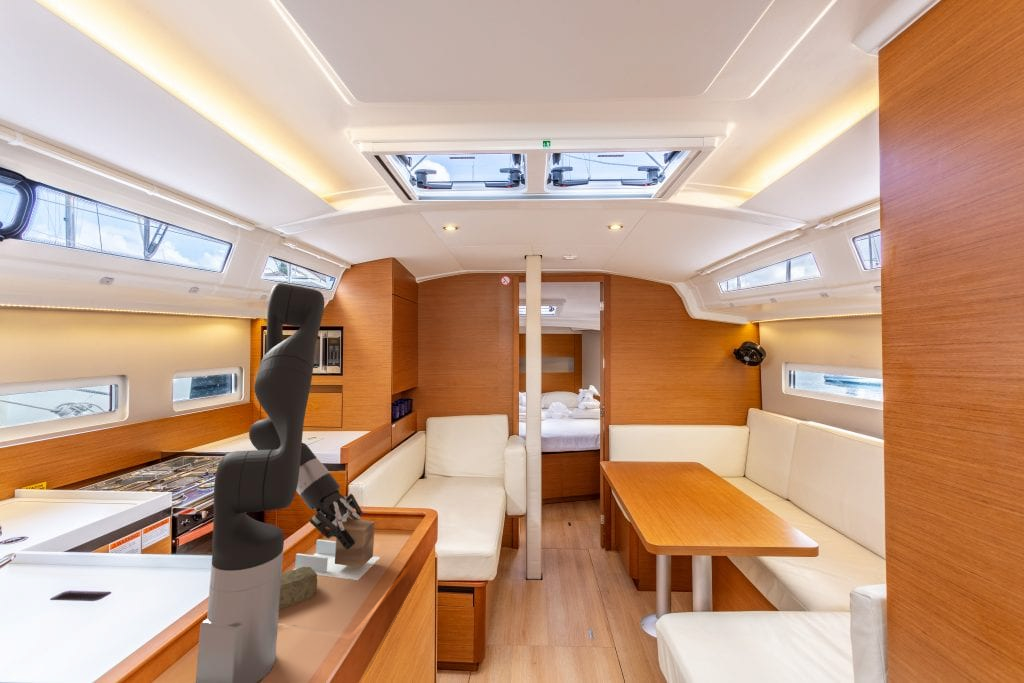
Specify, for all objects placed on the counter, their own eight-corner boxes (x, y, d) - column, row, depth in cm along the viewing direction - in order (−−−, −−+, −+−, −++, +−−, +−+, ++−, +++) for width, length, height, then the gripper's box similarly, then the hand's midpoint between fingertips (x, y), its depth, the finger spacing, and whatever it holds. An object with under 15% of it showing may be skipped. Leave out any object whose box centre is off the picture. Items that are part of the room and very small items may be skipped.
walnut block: (361, 567, 85) (363, 530, 86) (334, 563, 86) (337, 527, 87) (372, 556, 90) (375, 521, 91) (347, 553, 91) (349, 518, 92)
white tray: (357, 583, 83) (358, 565, 83) (275, 571, 86) (276, 554, 86) (380, 559, 92) (381, 544, 93) (305, 550, 96) (306, 535, 96)
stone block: (318, 598, 77) (319, 573, 77) (250, 625, 69) (252, 596, 69) (308, 586, 81) (310, 562, 81) (243, 609, 73) (245, 582, 73)
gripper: (304, 481, 84) (352, 544, 81) (343, 465, 98) (384, 518, 95) (281, 504, 84) (327, 567, 81) (323, 484, 98) (363, 538, 96)
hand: (358, 540), depth 88 cm, fingers closed on walnut block, 5 cm apart
